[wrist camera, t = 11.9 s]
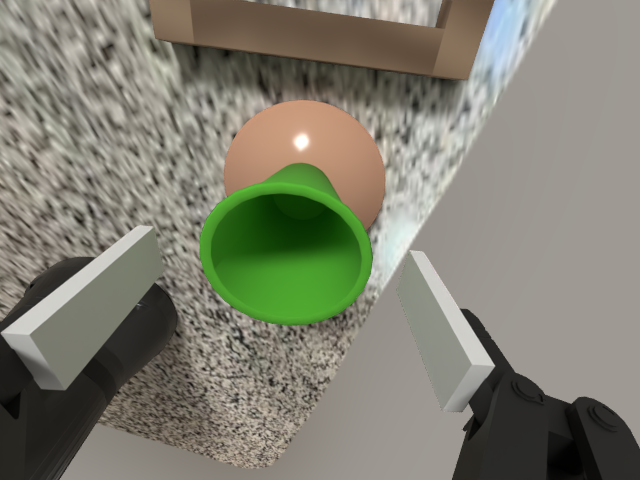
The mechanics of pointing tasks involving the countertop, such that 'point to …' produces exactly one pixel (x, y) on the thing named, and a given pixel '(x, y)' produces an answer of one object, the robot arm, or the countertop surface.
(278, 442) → the countertop surface
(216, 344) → the countertop surface
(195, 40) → the frame
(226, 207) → the cup
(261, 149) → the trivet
